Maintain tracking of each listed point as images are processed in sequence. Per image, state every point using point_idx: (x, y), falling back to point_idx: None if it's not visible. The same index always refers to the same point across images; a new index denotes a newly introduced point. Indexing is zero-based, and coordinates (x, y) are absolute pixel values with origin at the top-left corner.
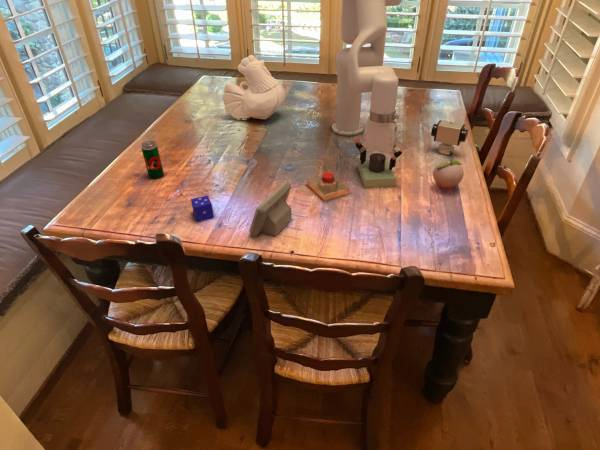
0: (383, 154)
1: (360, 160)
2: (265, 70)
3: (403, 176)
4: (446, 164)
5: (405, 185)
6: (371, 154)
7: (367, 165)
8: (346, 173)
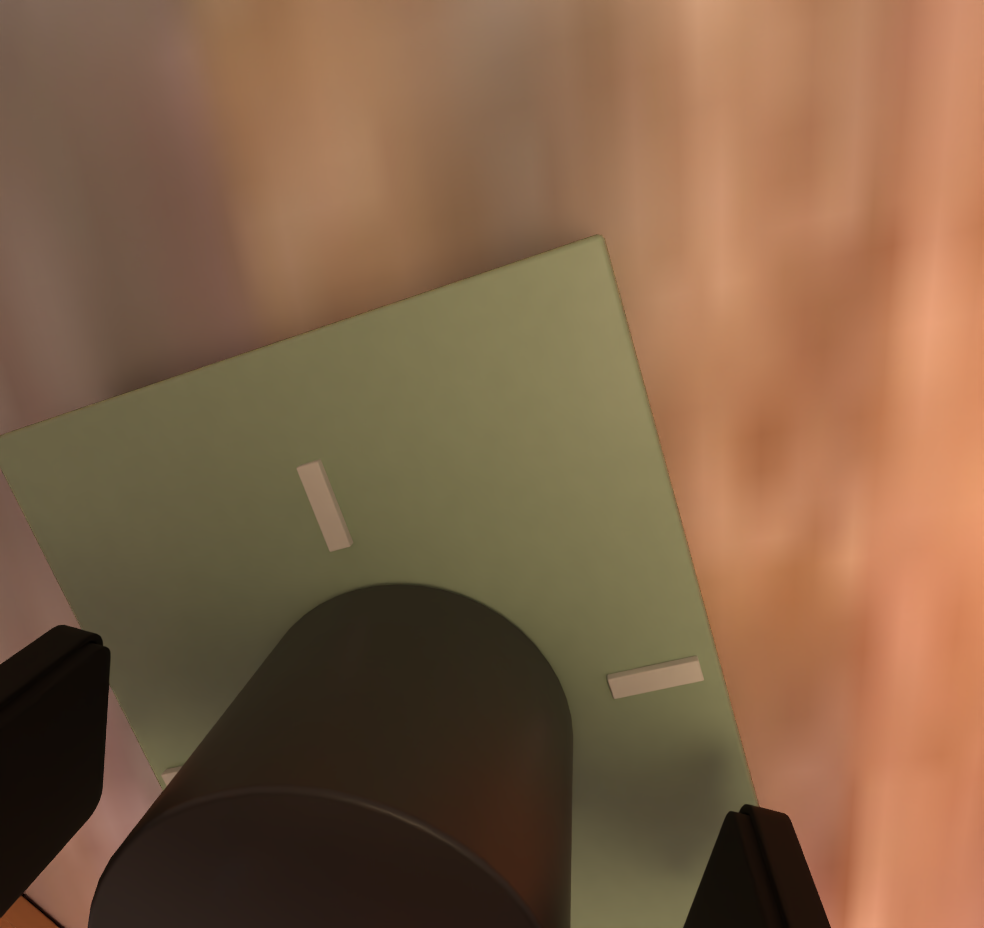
0: (472, 858)
1: (26, 442)
2: None
3: (931, 542)
4: None
5: (938, 805)
6: (107, 896)
7: (216, 624)
8: (2, 603)
